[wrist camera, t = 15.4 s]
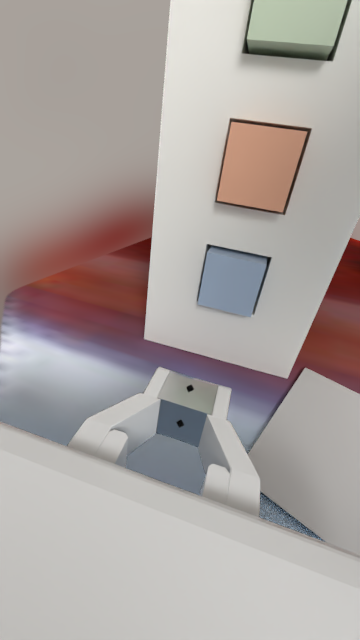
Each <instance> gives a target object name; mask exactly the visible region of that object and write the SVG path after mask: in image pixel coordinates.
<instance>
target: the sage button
mask: <svg viewBox="0 0 360 640" xmlns="http://www.w3.org/2000/svg"><path fill="white" fill-rule="evenodd" d="M347 1H348V0H254V3H253V8H252V14H251V19H250V24H249V30H248V35H247V43H248V49H249V54H253V55H264V56H275V57H287V58H298V59H309V60H321V61H326V59H327V57H328V56H329V54H330V52H331V50H332V48H333V46H334V43H335V40H336V37H337V34H338V30H339V27H340V24H341V21H342V17H343V14H344V11H345V7H346V4H347Z"/></svg>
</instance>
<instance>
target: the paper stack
mask: <svg viewBox="0 0 360 640" xmlns="http://www.w3.org/2000/svg"><path fill="white" fill-rule="evenodd" d="M248 456H249V458H250V460H251V462H252V464H253V466H254V468H255V470H256V472H257V474H258V476H259V477H260V492H262V493H263V494H264V495H266V496H267V497H268V498H270V499H271V500H272V501H273V502H275V503H276V504H277V505H279V506H280V507H281V508H282V509H284V510H285V511H286V512H288V513H289V514H290V515H292V516H293V517H294V518H295V519H297V520H298V521H299V522H301V523H302V524H303V525H304V526H306V527H307V528H308V529H310V530H311V531H312V532H313V533H315V534H316V535H317V536H319V537H320V538H321V539H323V540H324V541H325V542H327V543H329V544H332V545H335V546H337V547H340V548H343V549H346V550H348V551H351V552H354V553H356V554H359V555H360V394H358V393H356V392H354V391H352V390H350V389H348V388H346V387H344V386H342V385H340V384H338V383H336V382H334V381H332V380H330V379H328V378H326V377H323V376H321V375H319V374H317V373H315V372H313V371H311V370H309V369H307V368H305V369H304V370H303V372H302V373H301V375H300V376H299V378H298V379H297V381H296V382H295V384H294V385H293V387H292V388H291V390H290V391H289V393H288V394H287V396H286V397H285V399H284V400H283V402H282V403H281V405H280V406H279V408H278V409H277V411H276V412H275V414H274V415H273V417H272V418H271V420H270V421H269V423H268V424H267V426H266V427H265V429H264V430H263V432H262V433H261V435H260V436H259V438H258V439H257V441H256V442H255V444H254V445H253V447H252V448H251V450H250V451H249V453H248Z"/></svg>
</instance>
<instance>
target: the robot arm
mask: <svg viewBox="0 0 360 640" xmlns="http://www.w3.org/2000/svg"><path fill="white" fill-rule="evenodd" d="M230 396H231V388H228V387H225V386H221V385H217V384H213V383H210V382H206V381H203V380H200V379H196V378H193V377H190V376H187V375H183V374H180V373H177V372H174V371H170V370H167V369H164V368H161V367H159V368H157V370H156V372H155V373H154V375H153V377H152V379H151V380H150V382H149V384H148V386H147V388H146V389H145V391H144V393H143V394H142V393H138V394H136V395H134V396H132V397H130V398H128V399H126V400H124V401H122V402H120V403H117V404H115V405H113V406H111V407H109V408H107V409H105V410H103V411H101V412H99V413H97V414H95V415H93V416H91V417H89V418H87V419H86V420H85V422H84V423H83V424H82V426H81V427H80V428H79V430H78V431H77V433H76V434H75V435H74V437H73V438H72V439H71V441H70V442H69V443H68V445H67V446H65V445H62V444H59V443H57V442H54V441H51V440H49V439H46V438H43V437H40V436H38V435H35V434H32V433H30V432H27V431H24V430H22V429H19V428H16V427H13V426H11V425H8V424H5V423H3V422H0V640H360V555H359V554H356V553H354V552H351V551H348V550H346V549H343V548H340V547H337V546H335V545H332V544H329V543H327V542H324V541H321V540H319V539H316V538H313V537H310V536H308V535H305V534H302V533H300V532H297V531H294V530H292V529H289V528H286V527H284V526H281V525H278V524H275V523H273V522H270V521H267V520H265V519H262V518H259V512H260V477H259V476H258V474H257V472H256V470H255V468H254V466H253V464H252V462H251V460H250V458H249V456H248V454H247V453H246V451H245V449H244V447H243V445H242V443H241V441H240V439H239V437H238V435H237V433H236V432H235V430H234V428H233V426H232V424H231V422H230V421H227V414H228V408H229V402H230ZM156 433H158V434H161V435H164V436H167V437H171V438H174V439H177V440H180V441H182V442H185V443H188V444H191V445H193V446H196V447H198V450H199V454H200V457H201V461H202V464H203V467H204V471H205V474H206V476H205V479H204V482H203V485H202V488H201V491H200V494H199V495H197V494H194V493H191V492H189V491H186V490H183V489H181V488H178V487H175V486H173V485H170V484H167V483H164V482H162V481H159V480H156V479H154V478H151V477H148V476H146V475H143V474H140V473H138V472H135V471H132V470H129V469H127V468H126V459H127V456H128V455H129V454H130V453H131V452H133V451H134V450H135V449H137V448H138V447H139V446H141V445H142V444H143V443H145V442H146V441H147V440H149V439H150V438H151V437H153V436H154V435H155V434H156Z"/></svg>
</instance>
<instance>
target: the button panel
mask: <svg viewBox="0 0 360 640" xmlns="http://www.w3.org/2000/svg"><path fill="white" fill-rule="evenodd" d="M253 3H254V0H171V2H170V16H169V28H168V40H167V54H166V65H165V78H164V92H163V104H162V117H161V129H160V142H159V155H158V168H157V181H156V194H155V206H154V219H153V231H152V244H151V256H150V269H149V282H148V294H147V307H146V320H145V333H144V339H145V340H149V341H153V342H156V343H160V344H163V345H167V346H171V347H174V348H178V349H182V350H185V351H189V352H192V353H196V354H200V355H203V356H207V357H210V358H214V359H218V360H221V361H225V362H228V363H232V364H236V365H239V366H243V367H246V368H250V369H254V370H257V371H261V372H264V373H268V374H272V375H275V376H279V377H282V378H286V379H287V378H288V376H289V374H290V372H291V369H292V367H293V365H294V363H295V360H296V358H297V356H298V354H299V351H300V349H301V347H302V345H303V342H304V340H305V338H306V336H307V333H308V331H309V329H310V327H311V324H312V322H313V320H314V318H315V315H316V313H317V311H318V309H319V306H320V304H321V302H322V300H323V297H324V295H325V293H326V291H327V288H328V286H329V284H330V282H331V279H332V277H333V275H334V273H335V270H336V268H337V266H338V264H339V261H340V259H341V257H342V255H343V252H344V250H345V248H346V246H347V243H348V241H349V239H350V236H351V234H352V232H353V230H354V227H355V225H356V223H357V221H358V218H359V216H360V0H348V1H347V4H346V7H345V11H344V14H343V17H342V21H341V24H340V27H339V30H338V34H337V37H336V40H335V43H334V46H333V48H332V50H331V52H330V54H329V56H328V57H327V59H326V61H321V60H309V59H298V58H287V57H275V56H264V55H253V54H249V49H248V43H247V35H248V30H249V24H250V19H251V14H252V8H253ZM231 122H238V123H245V124H253V125H261V126H268V127H276V128H284V129H291V130H299V131H307V135H306V138H305V142H304V145H303V148H302V151H301V155H300V158H299V161H298V164H297V168H296V171H295V174H294V177H293V181H292V184H291V187H290V191H289V194H288V197H287V200H286V204H285V207H284V210H283V212H278V211H272V210H266V209H261V208H255V207H250V206H244V205H239V204H233V203H228V202H222V201H217V197H218V191H219V186H220V181H221V175H222V170H223V165H224V159H225V154H226V148H227V143H228V138H229V132H230V127H231ZM212 245H215V246H219V247H224V248H229V249H234V250H239V251H243V252H248V253H253V254H258V255H263V256H267V266H266V269H265V272H264V276H263V279H262V282H261V285H260V289H259V292H258V295H257V298H256V302H255V305H254V308H253V312H252V315H251V317H248V316H244V315H240V314H235V313H231V312H227V311H223V310H219V309H215V308H211V307H207V306H203V305H199V304H198V299H199V294H200V289H201V283H202V278H203V272H204V267H205V262H206V256H207V252H208V250H209V249H210V248H211V246H212Z"/></svg>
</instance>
